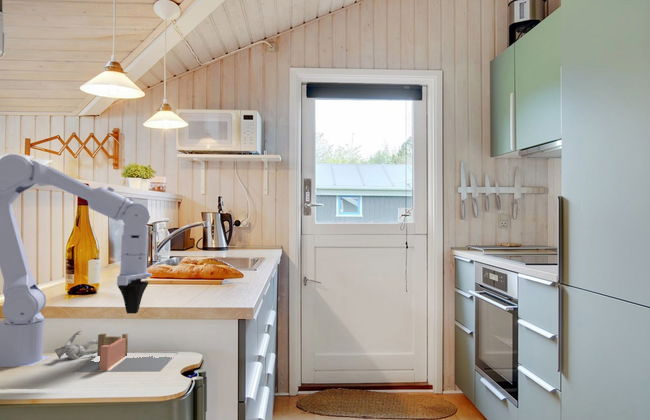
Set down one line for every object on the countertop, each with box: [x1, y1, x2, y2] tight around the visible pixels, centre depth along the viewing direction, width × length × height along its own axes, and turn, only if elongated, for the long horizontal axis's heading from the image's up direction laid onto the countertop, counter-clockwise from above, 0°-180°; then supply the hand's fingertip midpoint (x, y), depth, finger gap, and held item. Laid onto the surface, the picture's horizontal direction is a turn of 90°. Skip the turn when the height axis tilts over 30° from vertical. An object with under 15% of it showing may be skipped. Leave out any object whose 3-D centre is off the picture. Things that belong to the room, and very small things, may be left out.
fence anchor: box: [96, 333, 129, 356], centre depth 99 cm, size 6×1×5 cm, turn 94°
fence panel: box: [100, 337, 126, 370], centre depth 93 cm, size 10×1×5 cm, turn 3°
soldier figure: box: [54, 330, 98, 361], centre depth 99 cm, size 8×5×12 cm
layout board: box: [72, 351, 179, 373], centre depth 95 cm, size 17×14×1 cm
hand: (132, 313), depth 103 cm, fingers closed
